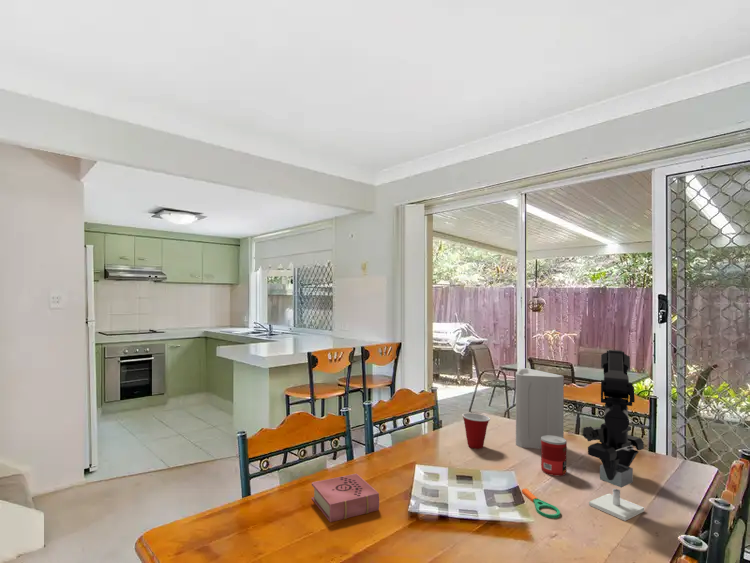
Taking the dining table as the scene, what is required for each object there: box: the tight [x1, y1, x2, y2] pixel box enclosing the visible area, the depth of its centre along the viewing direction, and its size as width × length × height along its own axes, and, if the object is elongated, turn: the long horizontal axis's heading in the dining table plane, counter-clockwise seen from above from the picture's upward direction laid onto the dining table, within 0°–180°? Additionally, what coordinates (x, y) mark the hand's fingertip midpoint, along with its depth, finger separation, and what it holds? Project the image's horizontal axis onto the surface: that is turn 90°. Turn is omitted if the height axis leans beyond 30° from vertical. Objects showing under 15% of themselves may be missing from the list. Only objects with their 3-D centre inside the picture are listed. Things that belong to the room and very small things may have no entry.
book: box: [311, 472, 380, 523], centre depth 123 cm, size 14×15×5 cm
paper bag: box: [515, 367, 565, 450], centre depth 176 cm, size 19×15×28 cm
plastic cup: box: [461, 412, 491, 450], centre depth 171 cm, size 11×11×12 cm
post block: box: [588, 488, 645, 522], centre depth 123 cm, size 10×10×5 cm
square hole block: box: [599, 463, 634, 488], centre depth 123 cm, size 6×6×4 cm
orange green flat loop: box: [521, 488, 561, 519], centre depth 124 cm, size 15×6×2 cm, turn 12°
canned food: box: [540, 435, 568, 477], centre depth 148 cm, size 8×8×11 cm
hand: (616, 477), depth 123 cm, fingers closed on square hole block, 6 cm apart
